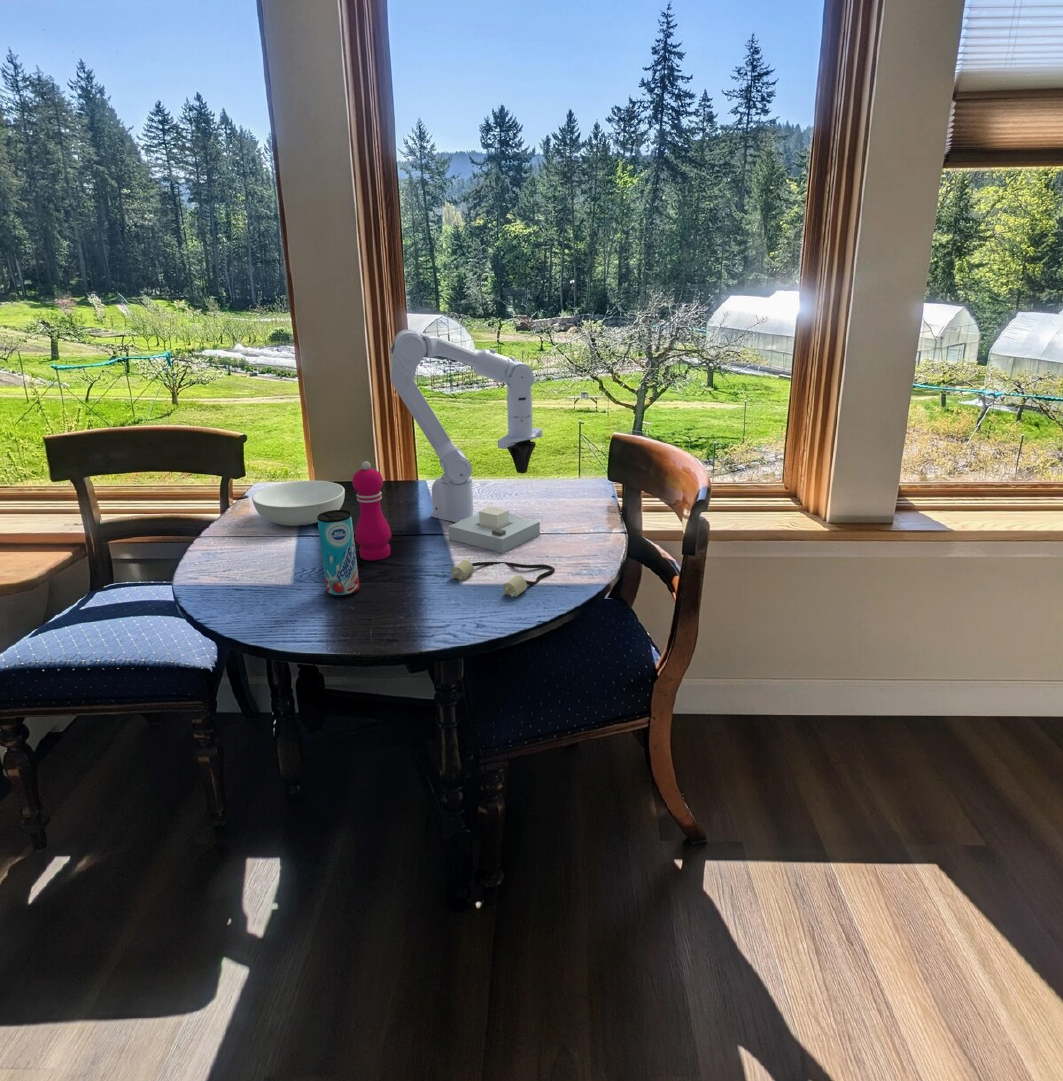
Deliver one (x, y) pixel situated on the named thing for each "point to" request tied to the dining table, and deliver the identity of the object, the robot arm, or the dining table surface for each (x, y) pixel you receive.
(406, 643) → the dining table surface
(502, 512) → the cream rectangular block
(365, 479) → the pepper mill
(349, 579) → the beverage can
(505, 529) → the socket plate
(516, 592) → the cable
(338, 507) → the serving bowl
